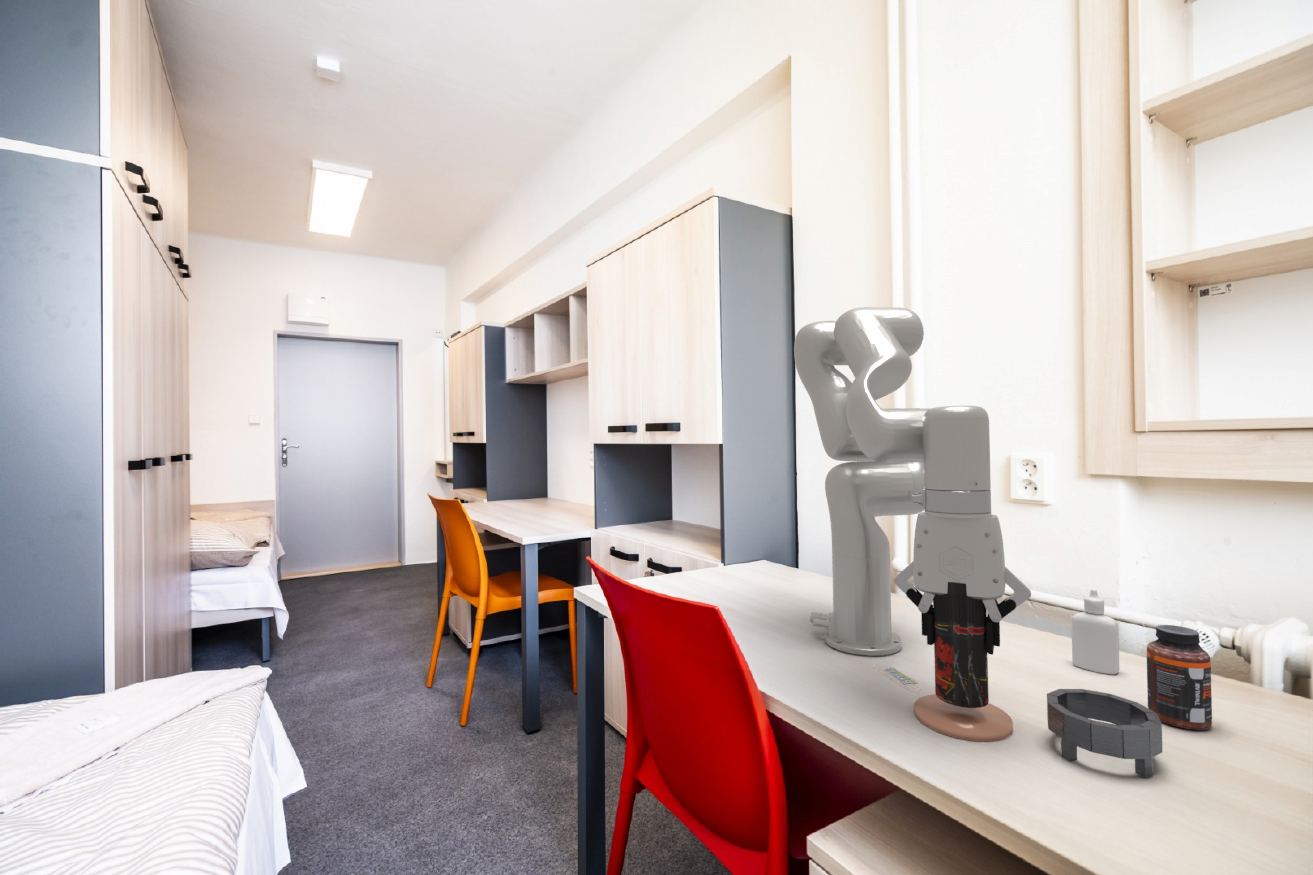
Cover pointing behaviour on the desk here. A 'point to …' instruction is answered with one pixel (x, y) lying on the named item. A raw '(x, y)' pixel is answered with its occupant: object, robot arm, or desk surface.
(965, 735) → the coaster
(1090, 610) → the eye dropper bottle
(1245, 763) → the desk surface
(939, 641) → the deodorant
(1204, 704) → the supplement bottle
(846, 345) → the robot arm
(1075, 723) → the ring stand
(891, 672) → the keychain
